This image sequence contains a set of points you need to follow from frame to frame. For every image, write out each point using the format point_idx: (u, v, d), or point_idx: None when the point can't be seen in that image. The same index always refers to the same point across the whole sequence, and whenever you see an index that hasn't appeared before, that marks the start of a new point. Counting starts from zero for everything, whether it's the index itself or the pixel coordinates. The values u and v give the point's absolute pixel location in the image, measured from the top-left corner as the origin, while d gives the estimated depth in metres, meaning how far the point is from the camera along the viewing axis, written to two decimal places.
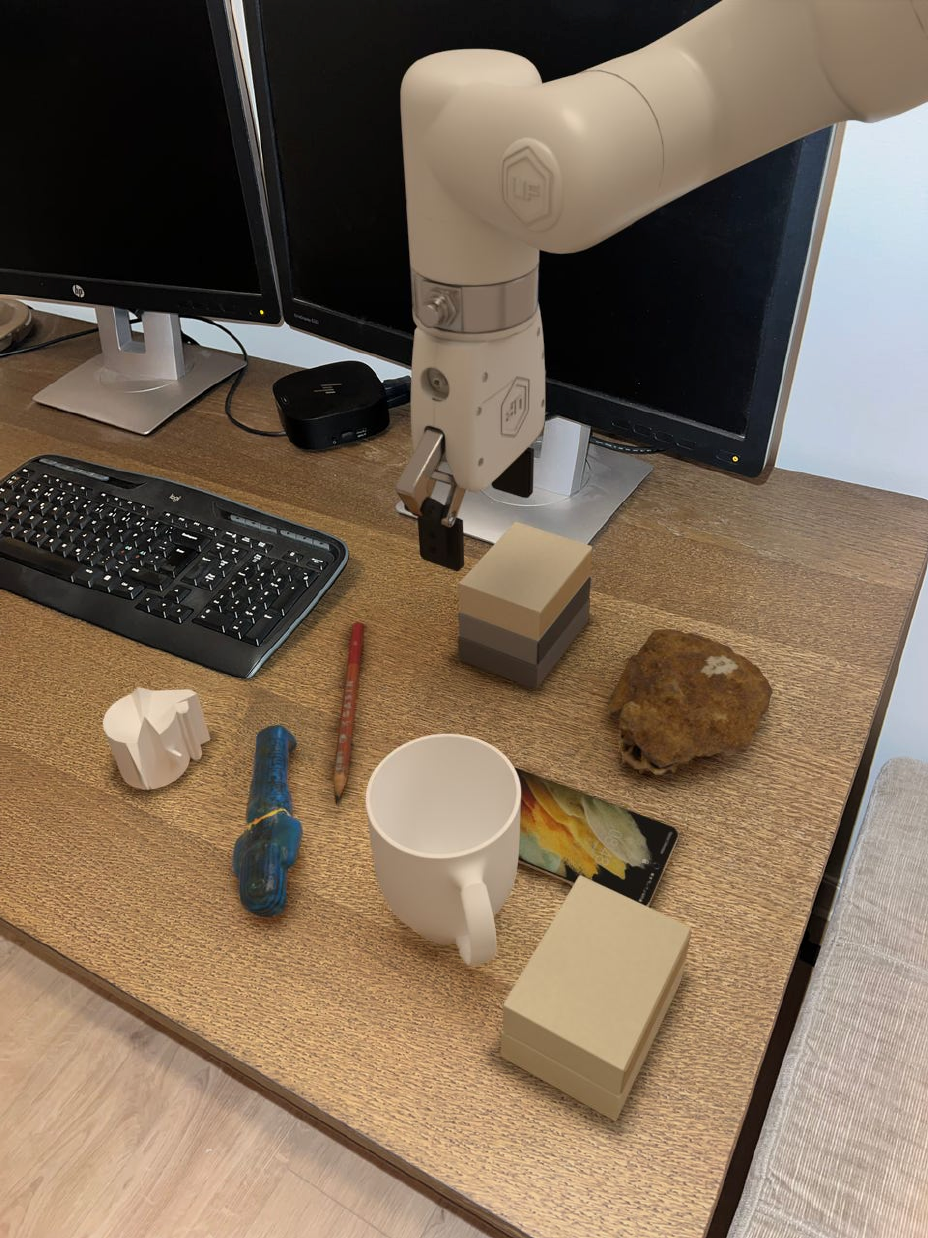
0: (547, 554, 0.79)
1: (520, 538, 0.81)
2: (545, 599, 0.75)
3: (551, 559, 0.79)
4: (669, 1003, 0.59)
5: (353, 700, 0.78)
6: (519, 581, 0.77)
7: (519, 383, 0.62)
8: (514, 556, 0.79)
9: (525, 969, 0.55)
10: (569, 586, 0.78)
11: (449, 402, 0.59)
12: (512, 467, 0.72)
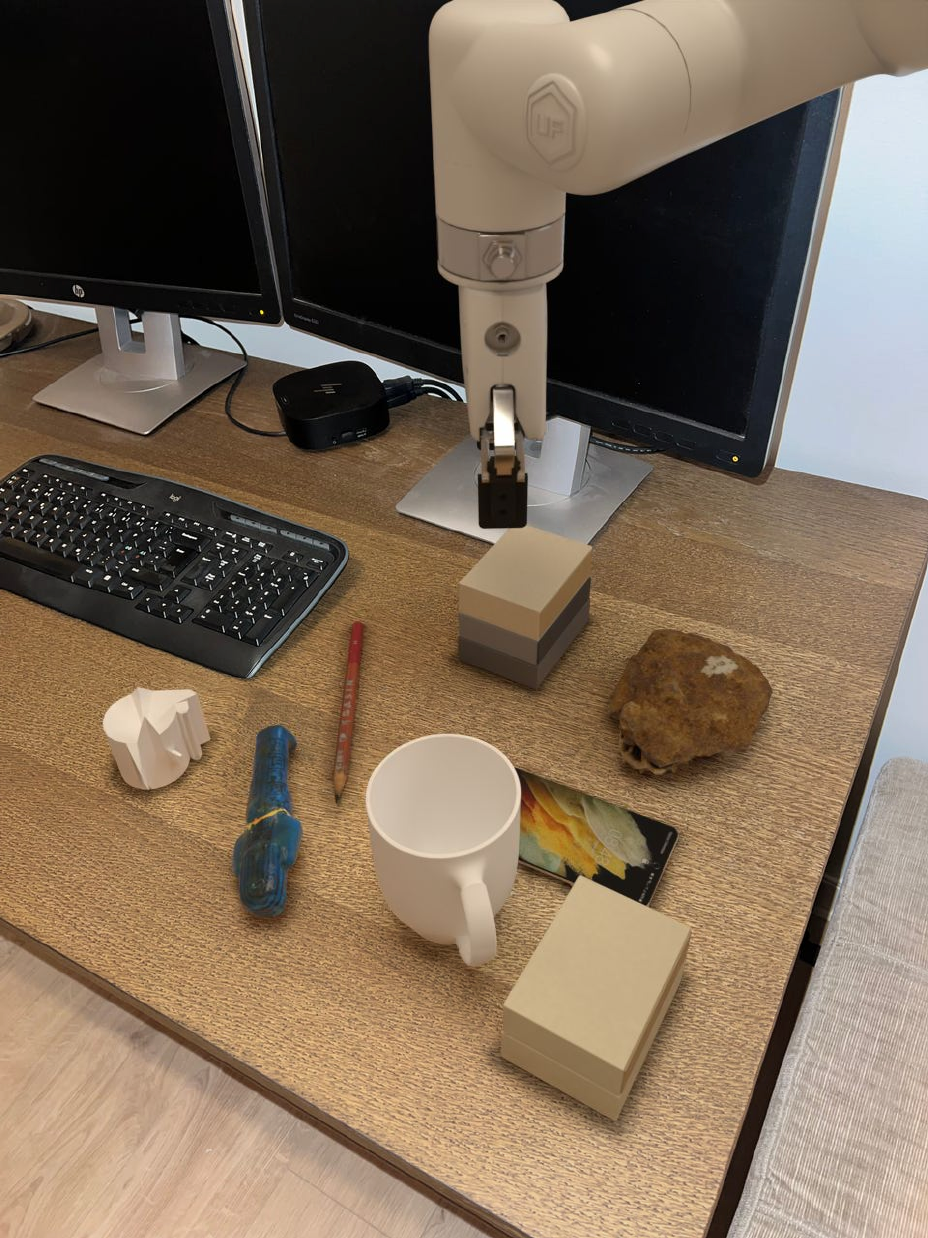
0: (547, 554, 0.79)
1: (520, 538, 0.81)
2: (545, 599, 0.75)
3: (551, 559, 0.79)
4: (669, 1003, 0.59)
5: (353, 699, 0.77)
6: (519, 581, 0.77)
7: None
8: (514, 556, 0.79)
9: (525, 969, 0.55)
10: (569, 586, 0.78)
11: (520, 353, 0.58)
12: None
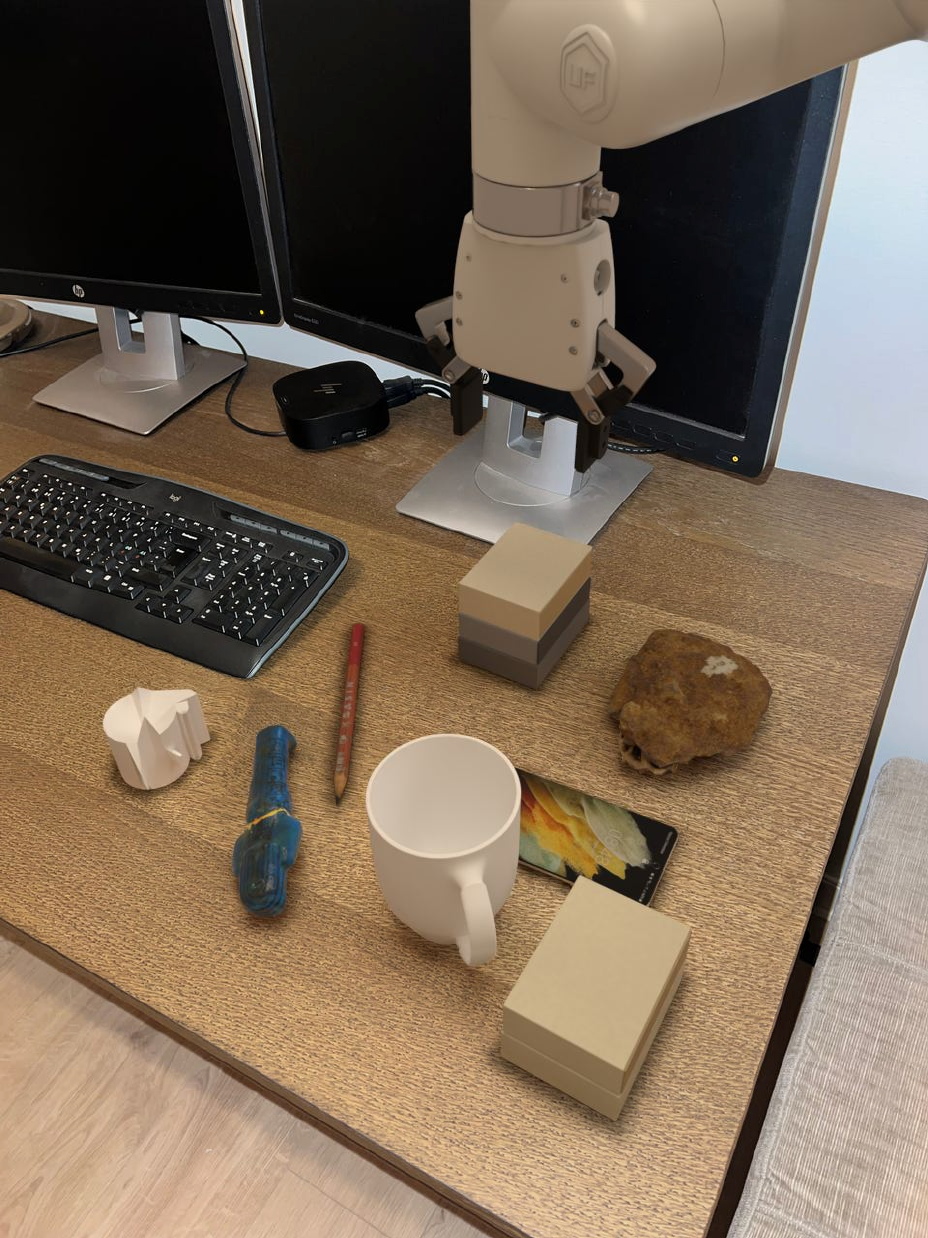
0: (547, 554, 0.79)
1: (520, 538, 0.81)
2: (545, 599, 0.75)
3: (551, 559, 0.79)
4: (669, 1003, 0.59)
5: (353, 701, 0.78)
6: (519, 581, 0.77)
7: None
8: (514, 556, 0.79)
9: (525, 969, 0.55)
10: (569, 586, 0.78)
11: (610, 284, 0.62)
12: (474, 397, 0.72)
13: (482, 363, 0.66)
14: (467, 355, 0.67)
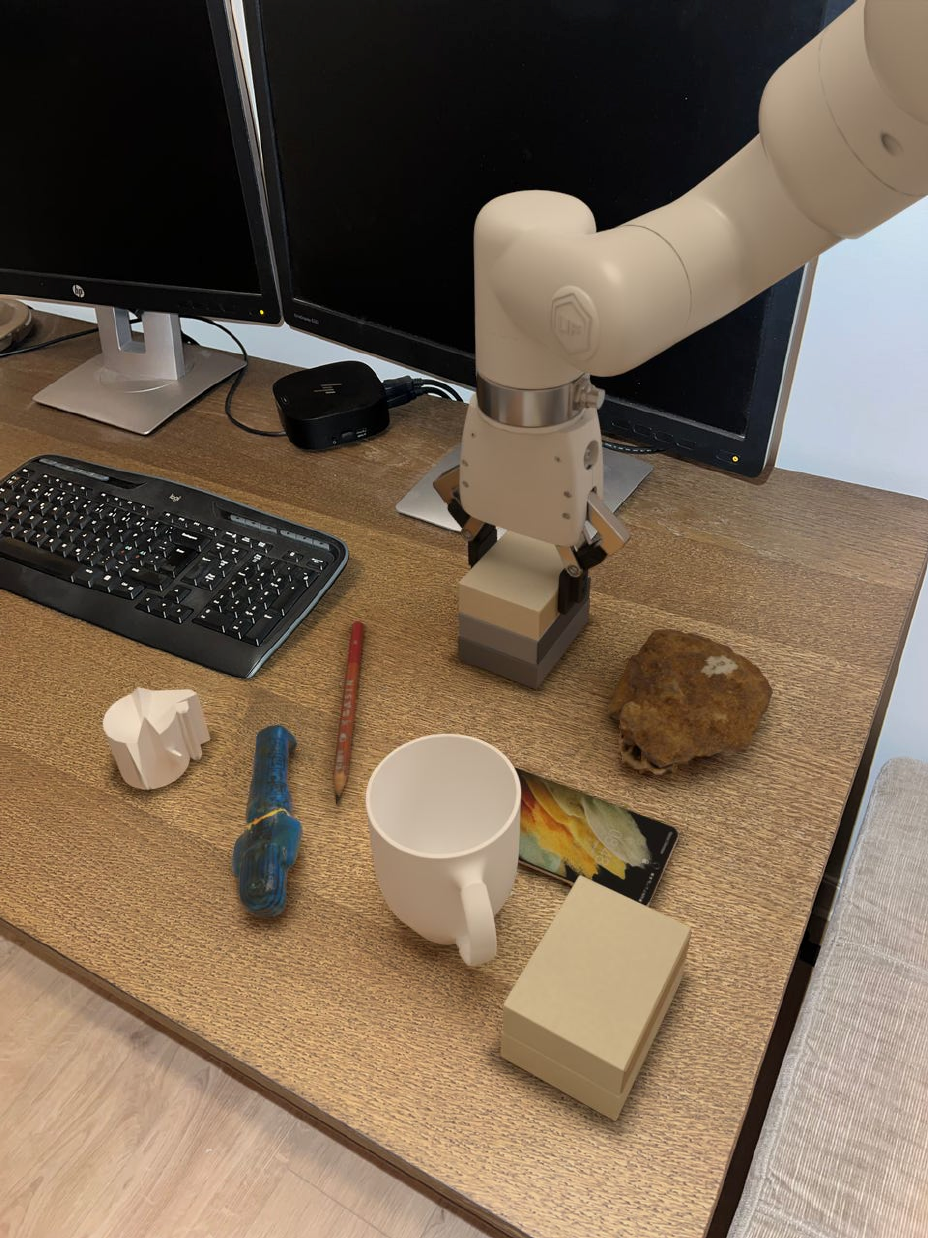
0: (547, 554, 0.79)
1: (520, 538, 0.81)
2: (545, 599, 0.75)
3: (551, 559, 0.79)
4: (669, 1003, 0.59)
5: (353, 699, 0.77)
6: (519, 581, 0.77)
7: None
8: (514, 555, 0.79)
9: (525, 969, 0.55)
10: None
11: (599, 458, 0.70)
12: None
13: (486, 518, 0.75)
14: (472, 511, 0.75)
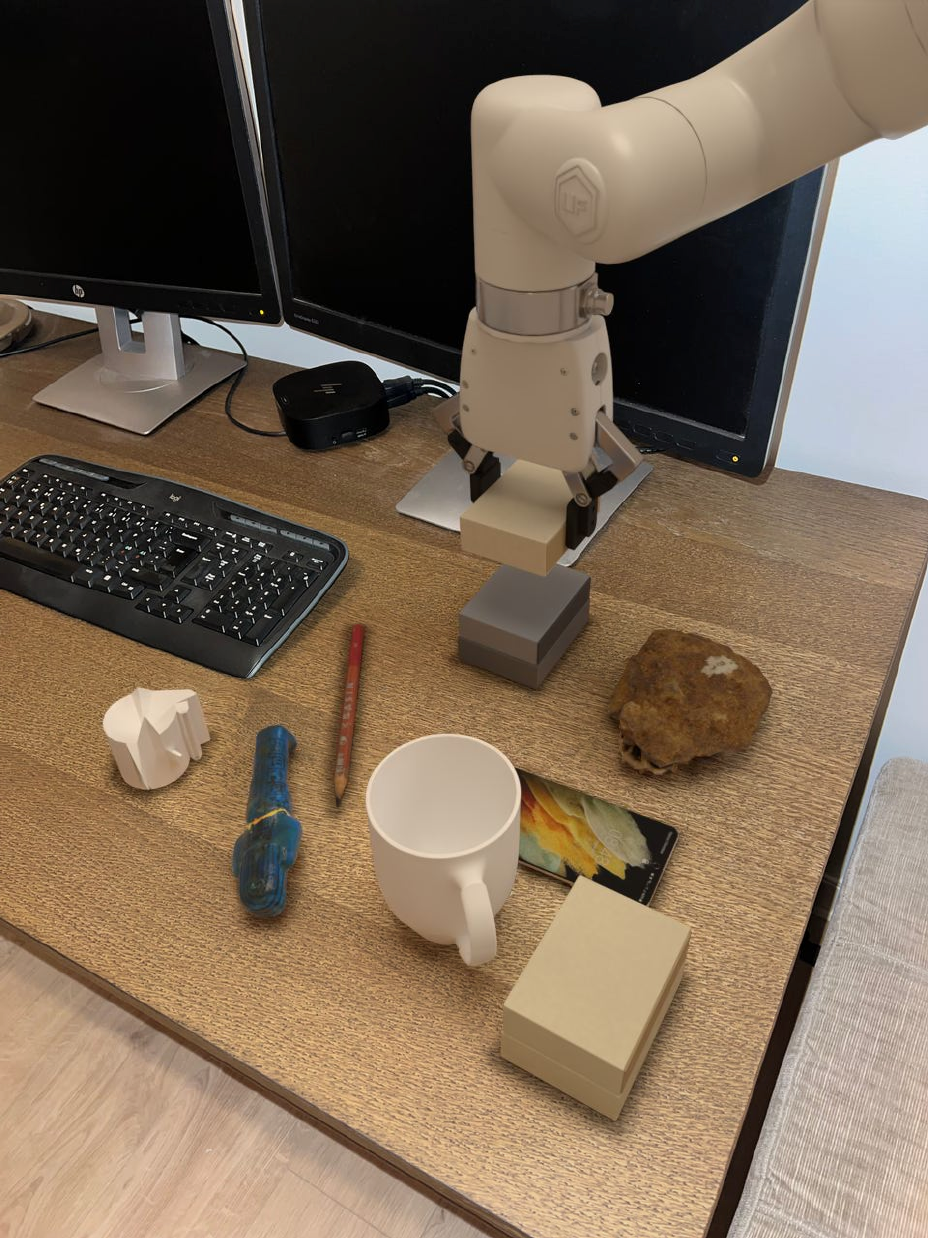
0: (553, 488, 0.75)
1: (525, 473, 0.76)
2: (552, 531, 0.70)
3: (558, 492, 0.74)
4: (669, 1003, 0.59)
5: (353, 702, 0.78)
6: (524, 514, 0.72)
7: None
8: (519, 490, 0.75)
9: (525, 969, 0.55)
10: None
11: (608, 373, 0.65)
12: None
13: (488, 445, 0.70)
14: (474, 438, 0.71)
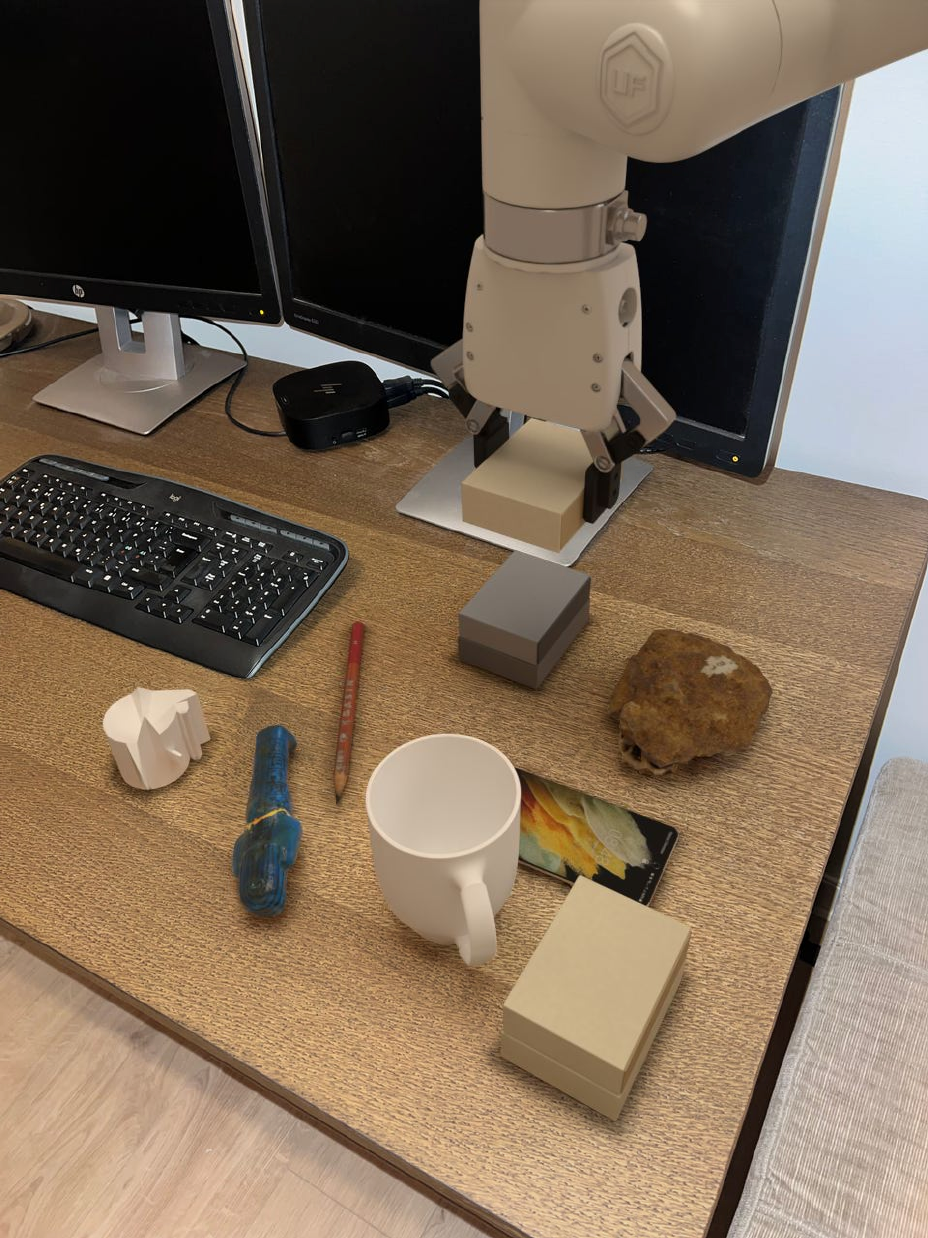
0: (569, 452, 0.65)
1: (536, 435, 0.67)
2: (568, 500, 0.61)
3: (574, 457, 0.64)
4: (669, 1003, 0.59)
5: (353, 699, 0.77)
6: (536, 480, 0.62)
7: None
8: (530, 453, 0.65)
9: (525, 969, 0.55)
10: None
11: (637, 314, 0.56)
12: None
13: (495, 400, 0.61)
14: (479, 391, 0.61)
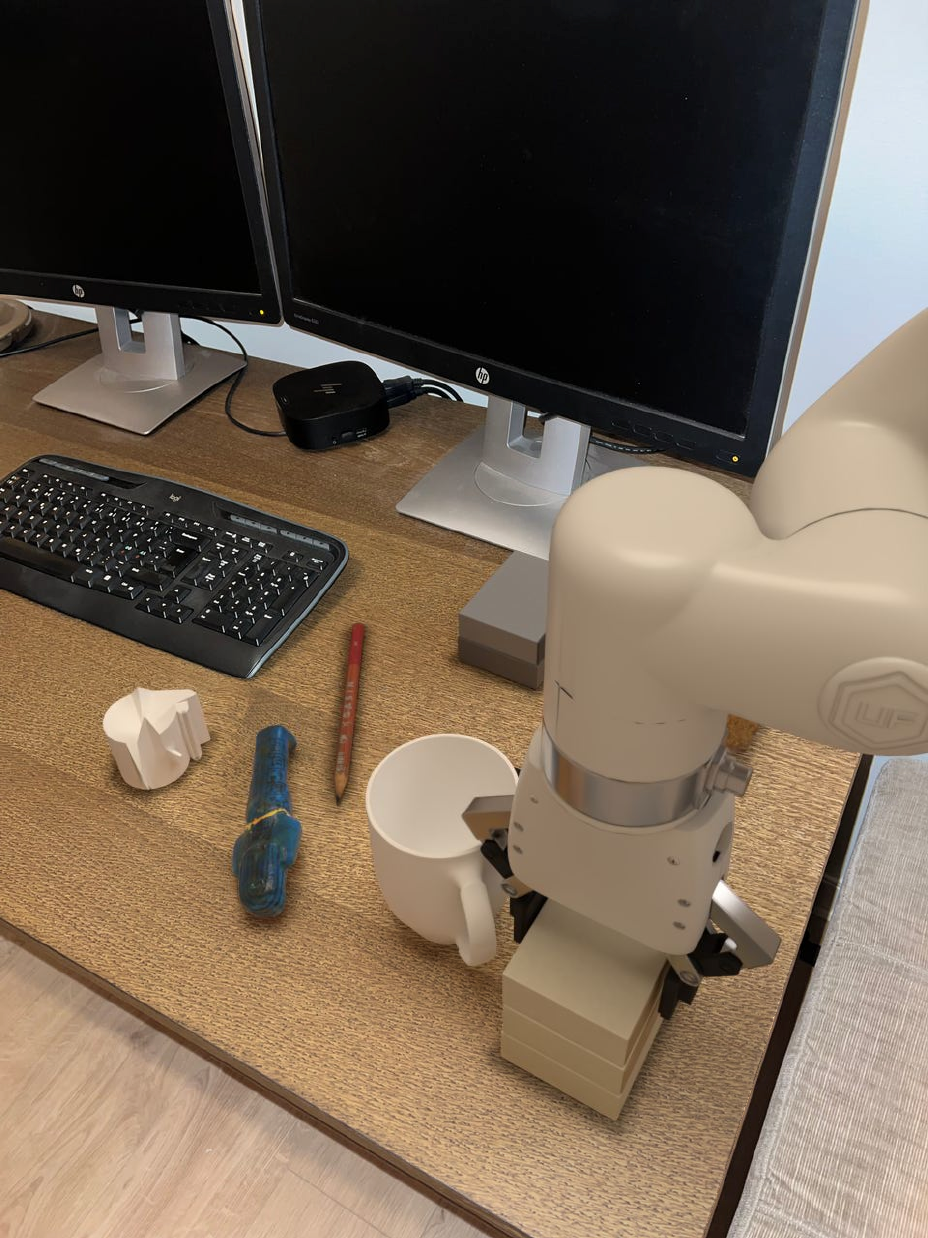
0: None
1: None
2: (635, 1012, 0.49)
3: None
4: None
5: (354, 701, 0.78)
6: (593, 971, 0.51)
7: None
8: (583, 917, 0.54)
9: None
10: (666, 970, 0.52)
11: (731, 839, 0.45)
12: (541, 899, 0.55)
13: (548, 894, 0.49)
14: (527, 880, 0.50)
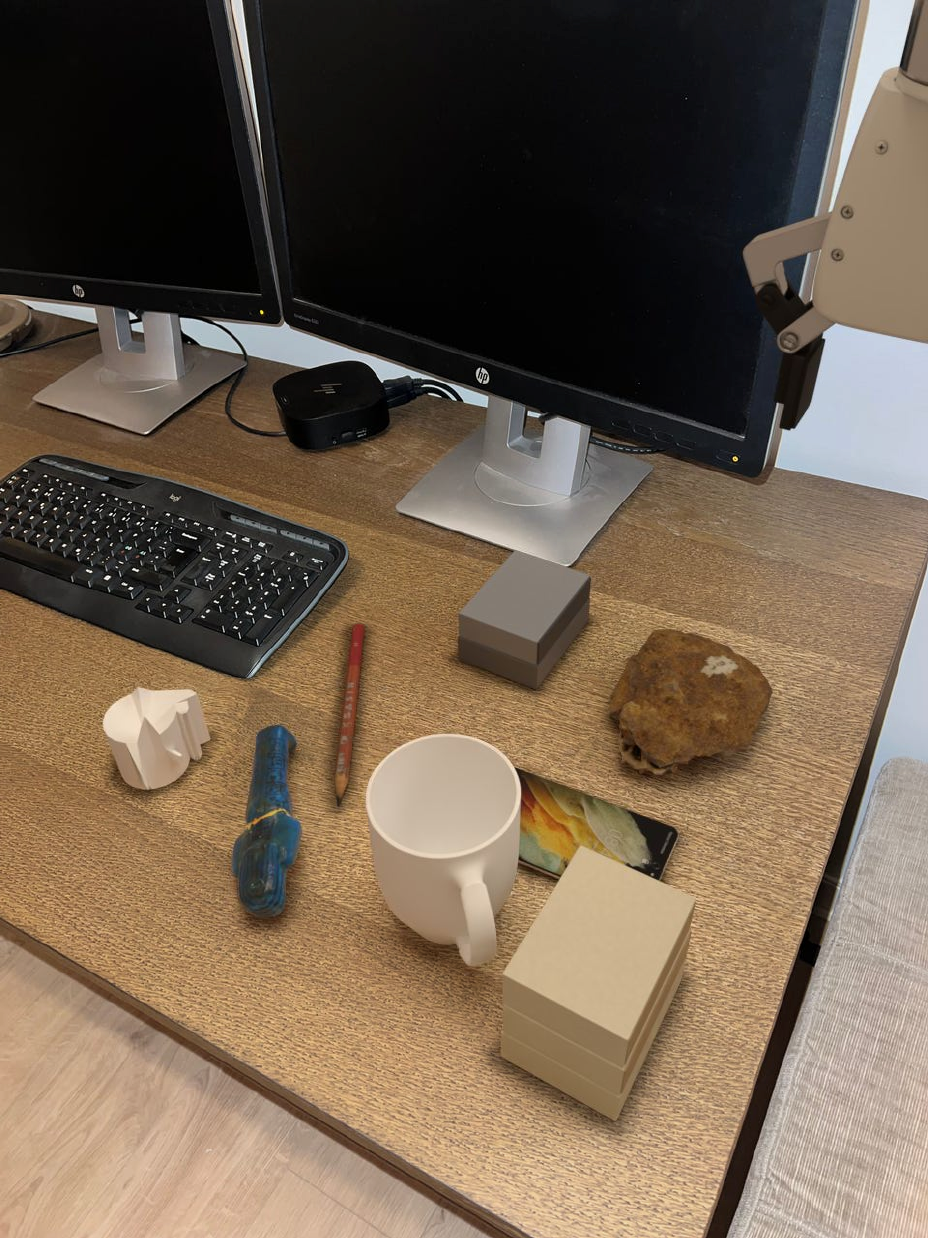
0: (631, 914, 0.54)
1: (589, 880, 0.55)
2: (635, 1012, 0.49)
3: (638, 925, 0.53)
4: (669, 1003, 0.59)
5: (354, 701, 0.78)
6: (593, 971, 0.51)
7: None
8: (583, 917, 0.54)
9: None
10: (666, 970, 0.52)
11: None
12: (813, 374, 0.49)
13: (863, 319, 0.44)
14: (838, 307, 0.44)
